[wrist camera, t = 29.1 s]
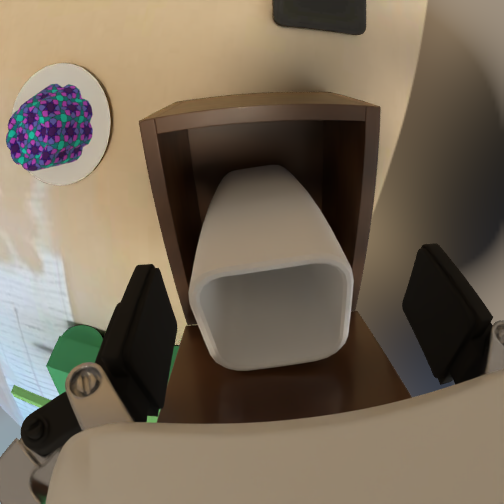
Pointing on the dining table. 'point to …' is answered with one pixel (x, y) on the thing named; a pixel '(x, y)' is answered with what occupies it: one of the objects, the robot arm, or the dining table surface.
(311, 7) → the smartphone
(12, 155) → the pudding
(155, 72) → the dining table surface
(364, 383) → the lid
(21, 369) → the dining table surface
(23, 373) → the dining table surface
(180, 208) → the chest
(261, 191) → the cup
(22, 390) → the toy tank
